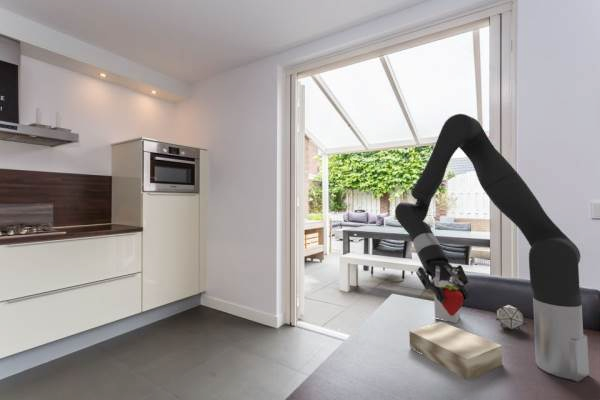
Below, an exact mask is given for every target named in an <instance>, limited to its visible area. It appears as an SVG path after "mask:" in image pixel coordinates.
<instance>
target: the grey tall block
mask: <svg viewBox="0 0 600 400" xmlns="http://www.w3.org/2000/svg"><path fill="white" fill-rule="evenodd" d="M452 272H453V271H452ZM450 279H452V276H451V277H450ZM446 285H449V286H453V285H452V284H449V283H448V282H447V281H443V280H442V281H439V287H443V286H446ZM433 296H434V297H433V298H434V302H433V303H434V318H435V317H436V318H439V319H443V320H446V321H445V322H447V321H450V322H449V323H452V322H454V324H457V323H458V321H459V319H460V317H461V316H460V315H461V313H460V310H461V308H460V309H459V310H458V311H457V312H456V313H455V315H453V316H451V315H449V314H448V312H447V311H446V310H445V308H444V307H443V305H442V304H441V303H440V301H438V300H437V298H436V296H435V294H434V293H433Z"/></svg>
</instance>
